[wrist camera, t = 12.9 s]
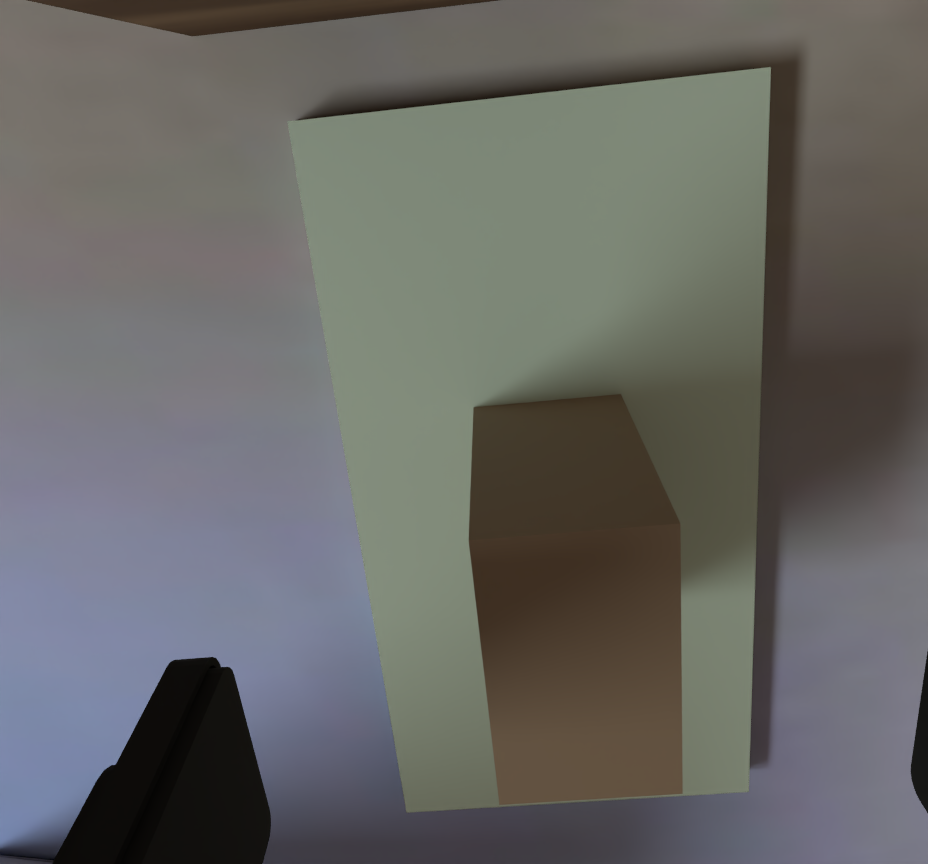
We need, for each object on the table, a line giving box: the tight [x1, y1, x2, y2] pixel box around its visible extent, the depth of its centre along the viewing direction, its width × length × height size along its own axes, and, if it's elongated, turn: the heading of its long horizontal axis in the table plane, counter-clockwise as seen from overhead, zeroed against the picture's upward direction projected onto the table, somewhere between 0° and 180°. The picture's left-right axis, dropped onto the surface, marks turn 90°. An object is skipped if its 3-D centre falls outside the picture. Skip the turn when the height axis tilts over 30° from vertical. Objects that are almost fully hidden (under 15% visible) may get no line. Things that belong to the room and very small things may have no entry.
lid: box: [288, 67, 771, 813], centre depth 16 cm, size 17×9×7 cm, turn 6°
